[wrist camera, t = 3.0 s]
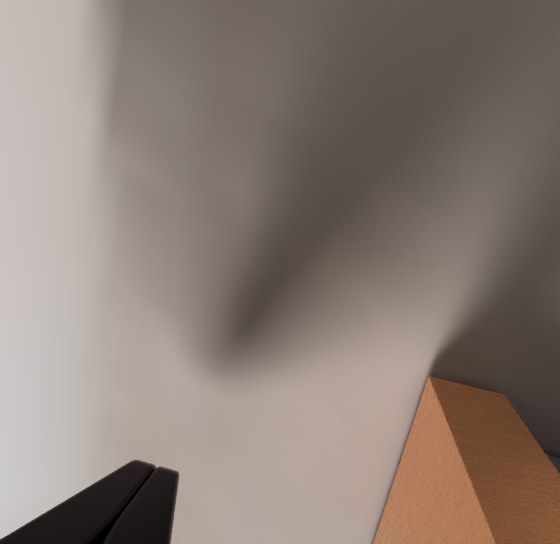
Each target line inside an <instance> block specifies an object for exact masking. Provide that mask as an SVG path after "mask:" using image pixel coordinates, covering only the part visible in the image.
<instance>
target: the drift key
mask: <svg viewBox="0 0 560 544" xmlns="http://www.w3.org/2000/svg"><path fill="white" fill-rule="evenodd" d="M373 544H560V458H559V457H555V456H551V455H547V454H545V452H544V451H543V450H542V448H541V447H540V445H539V444H538V442H537V441H536V440H535V438H534V437H533V435H532V434H531V432H530V431H529V429H528V428H527V427H526V425H525V424H524V422H523V421H522V419H521V418H520V417H519V415H518V414H517V412H516V411H515V409H514V408H513V407H512V405H511V404H510V402H509V401H508V399H507V398H506V396H505V395H504V394H501V393H497V392H493V391H489V390H485V389H481V388H476V387H472V386H468V385H464V384H460V383H456V382H452V381H448V380H444V379H440V378H436V377H432V376H428V379H427V382H426V385H425V388H424V391H423V394H422V397H421V400H420V403H419V406H418V409H417V412H416V415H415V418H414V421H413V424H412V427H411V430H410V433H409V436H408V439H407V442H406V445H405V448H404V451H403V454H402V457H401V460H400V464H399V467H398V470H397V473H396V476H395V479H394V482H393V485H392V488H391V491H390V494H389V497H388V500H387V503H386V506H385V509H384V512H383V515H382V518H381V521H380V524H379V527H378V530H377V533H376V536H375V539H374V542H373Z"/></svg>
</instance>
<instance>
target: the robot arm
mask: <svg viewBox="0 0 560 544" xmlns="http://www.w3.org/2000/svg"><path fill="white" fill-rule="evenodd" d="M178 481H179V473H178V472H177V471H175V470H171V469H168V468H164V467H157V468H156V466H155V465H154V464H150V463H147V462H143V461H140V460H133V461H131V462H129V463H127V464H126V465H124V466H122V467H121V468H119V469H117V470H116V471H114V472H112V473H111V474H109V475H107V476H106V477H104V478H102V479H101V480H99V481H97V482H96V483H94V484H92V485H91V486H89V487H87V488H86V489H84V490H82V491H81V492H79V493H77V494H76V495H74V496H72V497H71V498H69V499H67V500H66V501H64V502H62V503H61V504H59V505H57V506H56V507H54V508H52V509H51V510H49V511H47V512H46V513H44V514H42V515H41V516H39V517H37V518H36V519H34V520H32V521H31V522H29V523H27V524H26V525H24V526H22V527H20V528H19V529H17V530H16V531H14V532H12V533H11V534H9V535H7V536H5V537H4V538H2V539H0V544H170V543H171V535H172V527H173V520H174V512H175V504H176V497H177V489H178Z"/></svg>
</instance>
